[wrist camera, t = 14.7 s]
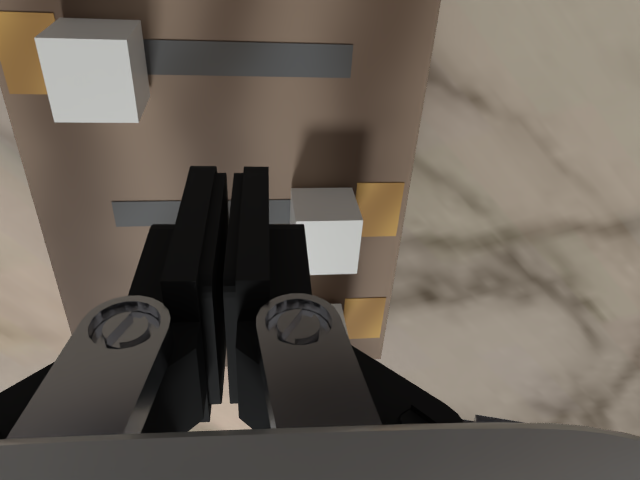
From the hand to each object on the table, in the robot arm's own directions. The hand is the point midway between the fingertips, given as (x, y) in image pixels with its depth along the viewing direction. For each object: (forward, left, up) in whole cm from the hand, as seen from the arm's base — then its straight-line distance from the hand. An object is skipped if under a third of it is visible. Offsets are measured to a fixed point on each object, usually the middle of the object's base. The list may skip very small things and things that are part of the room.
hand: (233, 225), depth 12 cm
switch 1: (+5, 0, -13) cm, 14 cm away
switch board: (+1, +7, -16) cm, 18 cm away
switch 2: (-4, +7, -13) cm, 15 cm away
